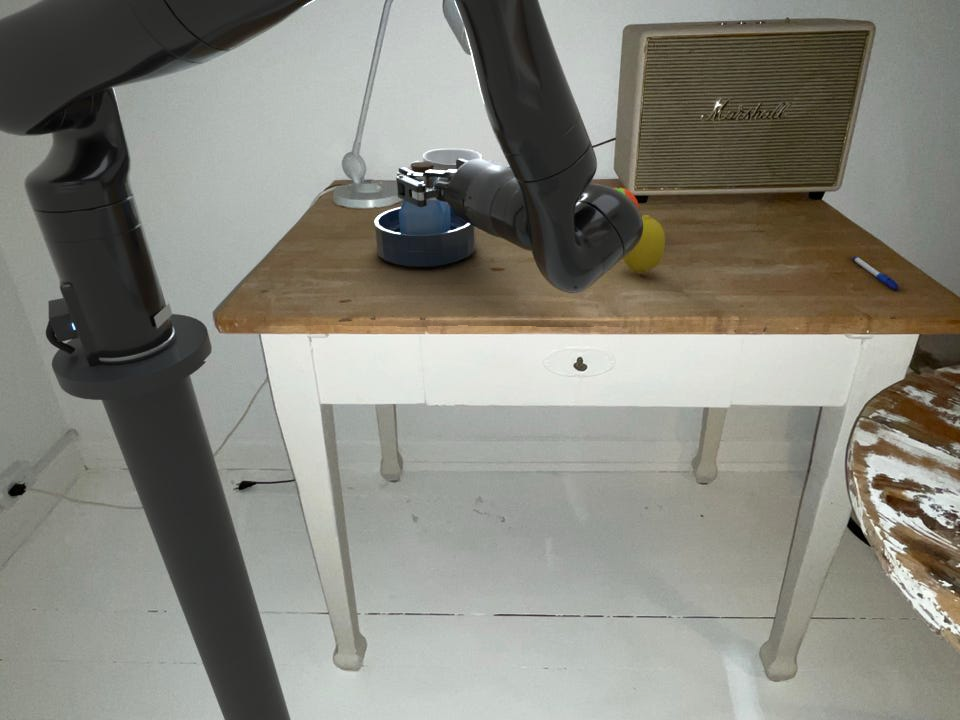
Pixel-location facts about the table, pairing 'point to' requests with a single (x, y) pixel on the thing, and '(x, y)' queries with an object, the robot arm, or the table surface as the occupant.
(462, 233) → the bowl
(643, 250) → the lemon
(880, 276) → the blue and white marker
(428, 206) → the perfume bottle
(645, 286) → the table surface
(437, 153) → the teacup
